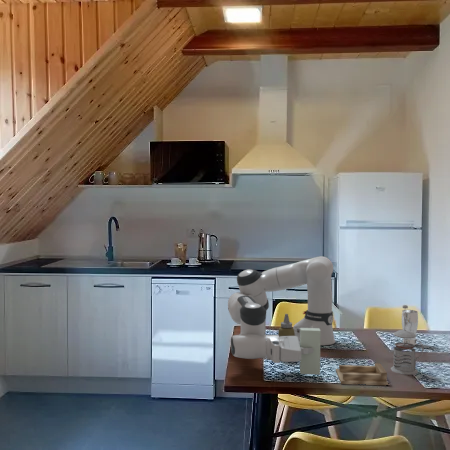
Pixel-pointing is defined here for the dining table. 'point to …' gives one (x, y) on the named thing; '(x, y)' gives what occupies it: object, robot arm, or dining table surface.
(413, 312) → the beer glass
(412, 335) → the grey white tiered vessel
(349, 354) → the dining table surface
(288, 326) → the squeeze bottle
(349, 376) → the wooden tray
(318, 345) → the tall white upright block
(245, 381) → the dining table surface
